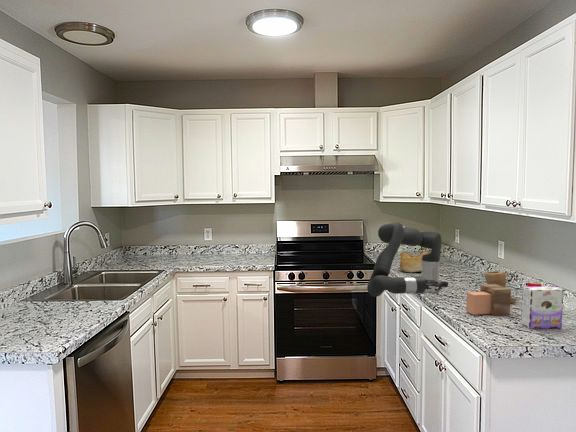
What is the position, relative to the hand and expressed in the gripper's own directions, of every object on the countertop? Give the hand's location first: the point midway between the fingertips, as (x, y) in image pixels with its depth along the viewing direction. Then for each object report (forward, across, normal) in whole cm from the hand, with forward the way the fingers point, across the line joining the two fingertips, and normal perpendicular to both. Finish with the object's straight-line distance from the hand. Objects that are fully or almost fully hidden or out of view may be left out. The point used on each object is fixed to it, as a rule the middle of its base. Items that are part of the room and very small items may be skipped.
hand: (447, 284), depth 177 cm
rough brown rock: (+37, +91, +13) cm, 99 cm away
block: (+20, 0, +14) cm, 25 cm away
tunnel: (+26, 0, +14) cm, 29 cm away
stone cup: (+42, +18, +14) cm, 48 cm away
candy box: (+32, -20, +14) cm, 40 cm away
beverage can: (+52, +5, +14) cm, 54 cm away
